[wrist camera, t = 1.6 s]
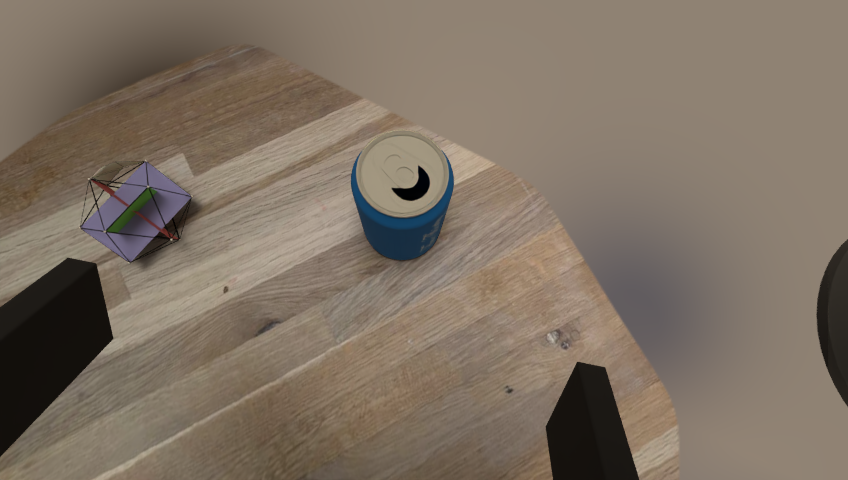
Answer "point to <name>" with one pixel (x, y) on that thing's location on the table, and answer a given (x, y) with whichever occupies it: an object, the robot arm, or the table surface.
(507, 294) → the table surface
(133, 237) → the geometric puzzle
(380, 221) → the beverage can
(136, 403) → the table surface
